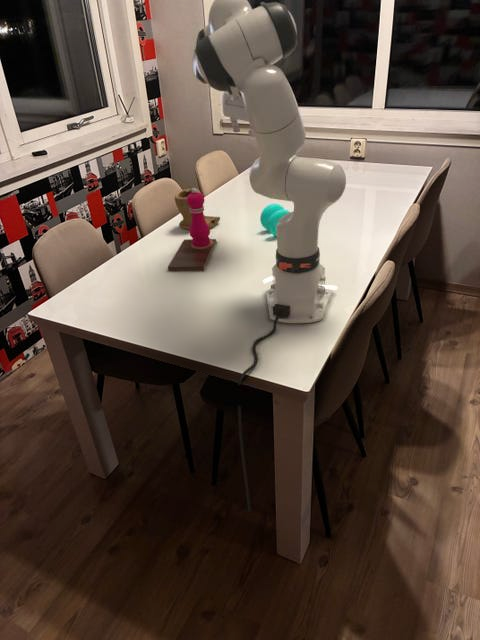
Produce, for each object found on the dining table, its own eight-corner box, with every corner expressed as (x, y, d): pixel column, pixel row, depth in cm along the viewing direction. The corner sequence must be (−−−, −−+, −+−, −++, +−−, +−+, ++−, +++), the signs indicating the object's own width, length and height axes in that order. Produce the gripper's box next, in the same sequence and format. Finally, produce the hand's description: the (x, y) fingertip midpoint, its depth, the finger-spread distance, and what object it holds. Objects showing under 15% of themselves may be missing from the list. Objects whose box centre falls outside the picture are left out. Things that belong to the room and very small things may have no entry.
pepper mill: (188, 242, 176) (180, 187, 165) (207, 237, 178) (200, 183, 167) (195, 249, 170) (186, 193, 159) (214, 244, 172) (207, 188, 161)
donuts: (284, 225, 186) (283, 200, 180) (296, 234, 178) (295, 208, 172) (259, 231, 183) (258, 205, 178) (270, 240, 175) (269, 214, 170)
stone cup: (173, 231, 190) (167, 194, 182) (186, 220, 199) (181, 184, 191) (209, 234, 185) (204, 195, 177) (221, 222, 194) (217, 185, 186)
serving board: (203, 270, 160) (203, 265, 159) (168, 270, 162) (167, 266, 161) (216, 242, 178) (216, 238, 177) (184, 243, 180) (184, 238, 179)
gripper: (215, 86, 157) (220, 131, 165) (249, 91, 142) (253, 140, 150) (232, 83, 160) (235, 127, 167) (267, 88, 145) (270, 136, 152)
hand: (244, 134), depth 158 cm, fingers open, 8 cm apart
